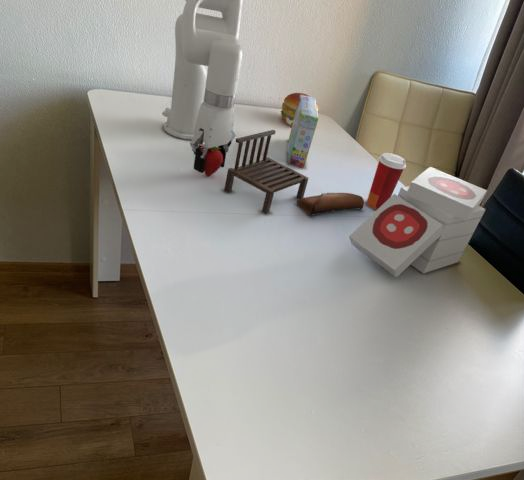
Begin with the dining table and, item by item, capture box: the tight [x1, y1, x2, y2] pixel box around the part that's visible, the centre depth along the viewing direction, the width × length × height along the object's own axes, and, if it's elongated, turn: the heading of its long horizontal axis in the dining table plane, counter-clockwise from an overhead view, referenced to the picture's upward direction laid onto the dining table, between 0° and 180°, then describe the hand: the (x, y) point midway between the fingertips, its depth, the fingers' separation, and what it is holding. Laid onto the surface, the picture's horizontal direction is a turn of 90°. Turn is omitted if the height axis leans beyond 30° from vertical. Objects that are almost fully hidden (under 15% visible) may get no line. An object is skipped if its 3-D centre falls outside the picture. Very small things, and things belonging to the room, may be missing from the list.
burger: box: [280, 92, 319, 126], centre depth 190 cm, size 13×14×10 cm
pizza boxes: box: [348, 166, 488, 278], centre depth 127 cm, size 19×30×18 cm, turn 128°
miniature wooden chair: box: [223, 129, 310, 215], centre depth 137 cm, size 14×17×14 cm
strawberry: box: [200, 146, 223, 177], centre depth 140 cm, size 6×8×10 cm
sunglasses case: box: [295, 192, 365, 216], centre depth 143 cm, size 18×7×7 cm
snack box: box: [287, 95, 319, 168], centre depth 165 cm, size 21×6×15 cm, turn 179°
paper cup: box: [366, 152, 407, 211], centre depth 148 cm, size 8×8×14 cm
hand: (209, 167), depth 141 cm, fingers open, 7 cm apart
